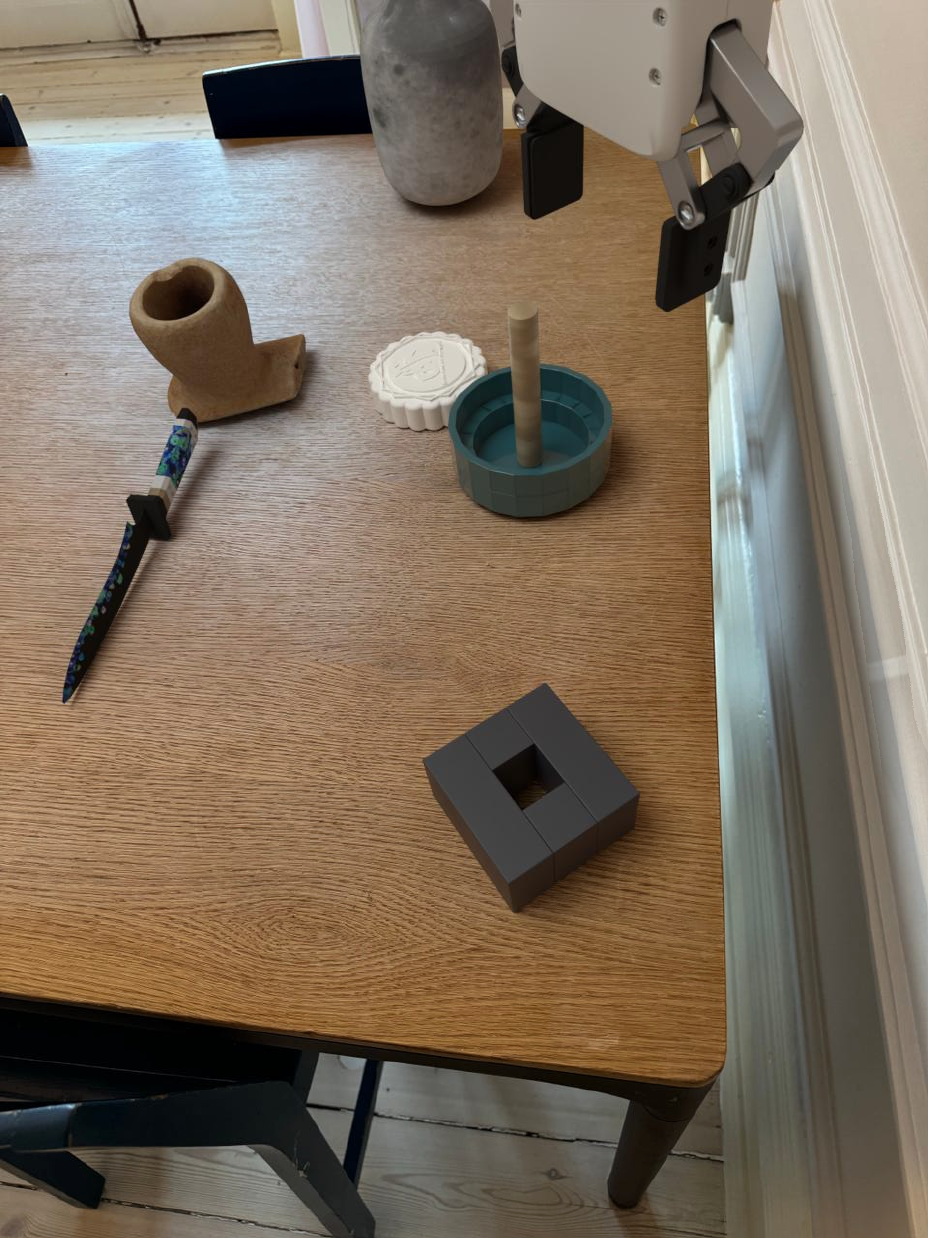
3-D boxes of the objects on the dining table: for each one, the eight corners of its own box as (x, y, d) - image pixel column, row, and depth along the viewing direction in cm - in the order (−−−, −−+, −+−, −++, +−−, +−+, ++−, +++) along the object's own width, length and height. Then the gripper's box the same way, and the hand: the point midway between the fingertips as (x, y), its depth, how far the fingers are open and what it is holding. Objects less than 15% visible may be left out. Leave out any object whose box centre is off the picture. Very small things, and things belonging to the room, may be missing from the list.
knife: (195, 433, 85) (176, 402, 82) (222, 437, 85) (204, 405, 81) (53, 710, 72) (22, 688, 68) (84, 716, 71) (54, 694, 67)
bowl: (548, 393, 86) (547, 343, 81) (641, 473, 78) (646, 424, 73) (427, 456, 82) (418, 408, 77) (512, 547, 74) (508, 500, 70)
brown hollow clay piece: (171, 450, 86) (106, 323, 74) (173, 377, 93) (114, 250, 81) (318, 420, 87) (278, 289, 74) (310, 350, 94) (271, 219, 81)
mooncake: (371, 363, 91) (364, 335, 88) (482, 347, 91) (479, 318, 88) (375, 440, 84) (368, 412, 81) (495, 422, 84) (493, 394, 81)
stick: (532, 446, 80) (526, 296, 67) (548, 460, 79) (544, 310, 66) (512, 457, 80) (501, 308, 67) (526, 471, 78) (518, 323, 66)
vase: (401, 160, 116) (356, -123, 92) (517, 160, 113) (503, -133, 88) (370, 225, 107) (312, -69, 83) (496, 227, 104) (473, -77, 80)
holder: (547, 722, 64) (545, 681, 59) (634, 828, 59) (640, 793, 54) (433, 796, 62) (421, 759, 57) (513, 913, 56) (508, 884, 51)
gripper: (972, -276, 22) (816, 302, 36) (568, -322, 31) (568, 153, 45) (754, -203, 20) (678, 377, 34) (394, -274, 29) (449, 206, 43)
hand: (616, 249), depth 40 cm, fingers open, 9 cm apart
